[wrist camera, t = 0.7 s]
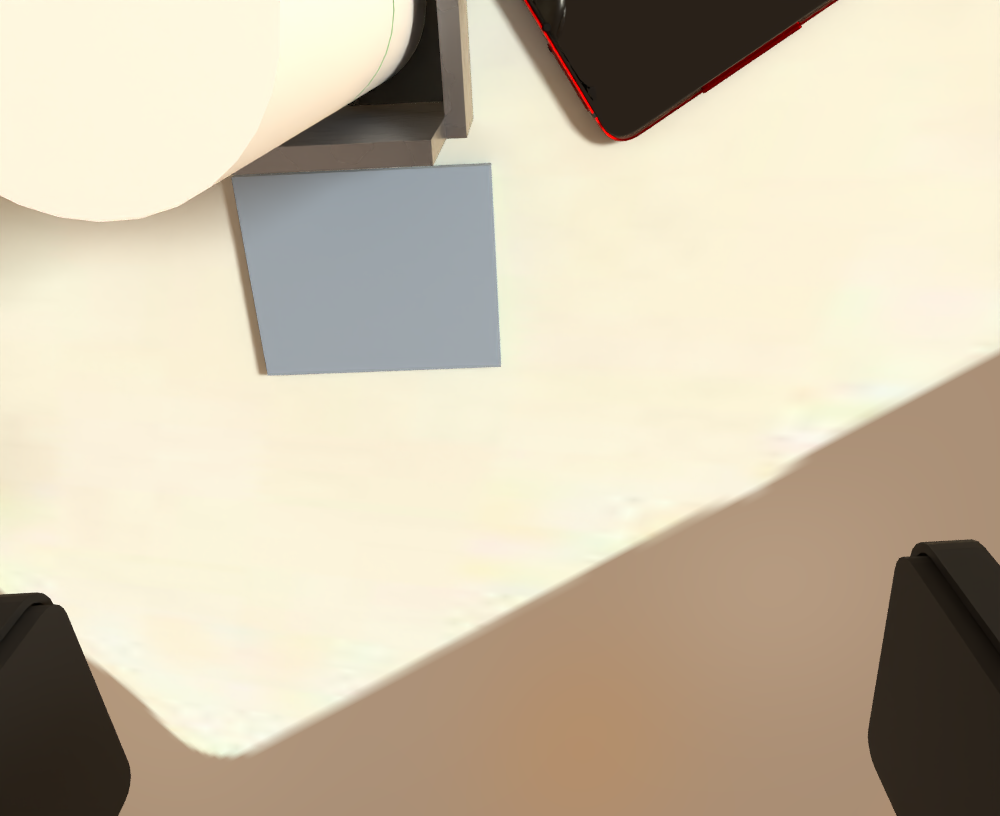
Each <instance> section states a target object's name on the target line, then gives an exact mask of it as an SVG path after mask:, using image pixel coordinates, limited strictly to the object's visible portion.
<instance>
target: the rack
mask: <svg viewBox="0 0 1000 816" xmlns="http://www.w3.org/2000/svg"><path fill="white" fill-rule="evenodd" d="M436 3H437V17H438V31H439V45H440V59H441V72H442V86H443V100H444V101H440V102H419V103H398V104H378V105H357V106H344V107H342V108H341V109H339V110H338V111H336V112H334V113H333V114H331V115H329V116H327V117H326V118H324V119H322V120H321V121H319V122H317V123H316V124H314V125H312V126H311V127H309V128H307V129H306V130H304V131H302V132H301V133H299V134H298V135H296V136H294V137H293V138H291V139H289V140H288V141H286V142H284V143H283V144H281V145H279V146H278V147H276V148H274V149H273V150H271V151H269V152H268V153H266V154H264V155H263V156H261V157H259V158H258V159H256V160H254V161H253V162H251V163H249V164H248V165H246V166H244V167H243V168H241V169H239V170H238V171H236V172H235V173H233V174H231V175H238V174H260V173H282V172H303V171H325V170H347V169H368V168H390V167H412V166H433V165H434V163H435V161H436V159H437V157H438V155H439V153H440V150H441V148H442V146H443V144H444V142H445V140H446V139H449V138H467V136H468V133H469V130H470V127H471V124H472V121H473V106H472V88H471V71H470V54H469V37H468V19H467V2H466V0H436Z"/></svg>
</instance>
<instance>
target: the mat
mask: <svg viewBox="0 0 1000 816" xmlns="http://www.w3.org/2000/svg"><path fill="white" fill-rule="evenodd" d="M231 178H232V183H233V189H234V194H235V200H236V205H237V211H238V216H239V221H240V227H241V232H242V238H243V243H244V249H245V254H246V259H247V265H248V270H249V276H250V281H251V287H252V292H253V298H254V303H255V308H256V314H257V319H258V325H259V330H260V336H261V341H262V346H263V352H264V357H265V363H266V368H267V374H268V375H294V374H321V373H347V372H373V371H399V370H425V369H452V368H478V367H501V353H500V334H499V314H498V294H497V274H496V254H495V234H494V214H493V194H492V175H491V163H484V164H462V165H440V166H419V167H397V168H375V169H353V170H332V171H310V172H288V173H267V174H245V175H234V176H233V177H231Z"/></svg>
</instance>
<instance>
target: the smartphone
mask: <svg viewBox="0 0 1000 816" xmlns="http://www.w3.org/2000/svg"><path fill="white" fill-rule="evenodd" d="M828 1H829V0H523V2H524V3H525V5H526V7H527V8H528V10H529V12H530V13H531V15H532V17H533V18H534V20H535V22H536V23H537V25H538V27H539V28H540V30H541V32H542V33H543V35H544V37H545V38H546V40H547V42H548V46H549V47H548V48H549V50H550V52H552V53H553V55H554V56H555V58H556V60H557V61H558V63H559V65H560V66H561V68H562V70H563V71H564V73H565V75H566V76H567V78H568V80H569V81H570V83H571V85H572V86H573V88H574V90H575V91H576V93H577V94H578V96H579V98H580V99H581V101H582V103H583V104H584V106H585V108H586V109H587V111H590V113H591V115H592V116H593V118H594V120H595V121H596V123H597V124H598V126H599V127H600V128H601V130H602V131H603V132H604V133H605V134H606V135H607V136H608V137H609V138H611V139H613V140H616V141H627V140H631V139H633V138H635V137H637V136H639V135H640V134H642V133H643V132H645V131H646V130H648V129H649V128H651V127H652V126H654V125H655V124H657V123H658V122H660V121H661V120H663V119H664V118H666V117H667V116H668V115H670V114H671V113H673V112H674V111H676V110H677V109H679V108H680V107H682V106H683V105H685V104H686V103H688V102H689V101H691V100H692V99H693V98H695V97H696V96H698V95H699V94H701V93H702V92H703V93H706V92H707V91H709V90H710V89H712V88H713V87H715V86H716V85H718V84H719V83H721V82H722V81H723V80H725V79H726V78H728V77H729V76H731V75H732V74H734V73H735V72H737V71H738V70H740V69H741V68H743V67H744V66H746V65H747V64H749V63H750V62H752V60H754V59H756V58H757V57H759V56H760V55H762V54H763V53H765V52H766V51H768V50H769V49H771V48H772V47H774V46H775V45H777V44H778V43H780V42H781V41H783V40H784V39H785V38H787V37H788V36H790V35H791V34H793V33H794V32H796V31H797V30H799V29H800V28H801V27H802V26H801V25H802V24H804V23H805V22H807V21H808V20H810V19H811V18H813V17H814V16H816V15H817V14H819V13H820V12H822V11H823V10H825V9H826V8H827V7H829V6H830V5H832V4H833V3H835V2H836V1H838V0H830V1H829V2H828ZM826 2H827V3H826ZM825 3H826V4H825ZM823 4H824V5H823ZM822 5H823V6H822ZM820 6H821V7H820ZM819 7H820V8H819ZM817 8H819V9H817ZM816 9H817V10H816ZM815 10H816V11H815ZM813 11H814V12H813ZM812 12H813V13H812ZM810 13H811V14H810ZM809 14H810V15H809ZM807 15H808V16H807ZM806 16H807V17H806ZM804 17H805V18H804ZM803 18H804V19H803ZM801 19H802V20H801ZM800 20H801V21H800ZM700 88H701V89H700ZM698 89H699V90H698ZM697 90H698V91H697ZM695 91H696V92H695ZM694 92H695V93H694ZM692 93H693V94H692ZM691 94H692V95H691ZM688 96H689V97H688ZM685 98H686V99H685ZM682 100H683V101H682ZM681 101H682V102H681ZM679 102H680V103H679ZM678 103H679V104H678ZM676 104H677V105H676ZM675 105H676V106H675ZM673 106H674V107H673ZM672 107H673V108H672ZM670 108H671V109H670ZM669 109H670V110H669ZM667 110H668V111H667ZM666 111H667V112H666ZM663 113H664V114H663ZM660 115H661V116H660ZM657 117H658V118H657ZM654 119H655V120H654ZM651 121H652V122H651ZM650 122H651V123H650ZM648 123H649V124H648ZM647 124H648V125H647ZM645 125H646V126H645ZM644 126H645V127H644ZM642 127H643V128H642ZM641 128H642V129H641ZM639 129H640V130H639ZM638 130H639V131H638ZM636 131H637V132H636ZM634 132H635V133H634ZM630 134H631V135H630ZM628 135H629V136H628ZM624 136H625V137H624Z"/></svg>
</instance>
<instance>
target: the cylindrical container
mask: <svg viewBox="0 0 1000 816" xmlns="http://www.w3.org/2000/svg"><path fill="white" fill-rule="evenodd" d="M425 13H426V0H0V196H2V197H4V198H6V199H8V200H10V201H12V202H14V203H16V204H18V205H21V206H24V207H27V208H31V209H34V210H37V211H40V212H44V213H47V214H50V215H53V216H57V217H61V218H70V219H78V220H87V221H95V222H107V221H118V220H130V219H141V218H144V217H147V216H150V215H153V214H156V213H159V212H163V211H166V210H169V209H172V208H175V207H178V206H180V205H181V204H183V203H185V202H186V201H188V200H190V199H191V198H193V197H195V196H196V195H198V194H200V193H201V192H203V191H205V190H206V189H208V188H210V187H211V186H213V185H215V184H216V183H218V182H220V181H221V180H223V179H225V178H226V177H228V176H230V175H231V174H233V173H235V172H236V171H238V170H239V169H241V168H243V167H244V166H246V165H248V164H249V163H251V162H253V161H254V160H256V159H258V158H259V157H261V156H263V155H264V154H266V153H268V152H269V151H271V150H273V149H274V148H276V147H278V146H279V145H281V144H283V143H284V142H286V141H288V140H289V139H291V138H293V137H294V136H296V135H298V134H299V133H301V132H302V131H304V130H306V129H307V128H309V127H311V126H312V125H314V124H316V123H317V122H319V121H321V120H322V119H324V118H326V117H327V116H329V115H331V114H333V113H334V112H336V111H338V110H339V109H341V108H342V107H344V106H346V105H347V104H349V103H351V102H352V101H354V100H356V99H357V98H359V97H360V96H362V95H364V94H365V93H367V92H369V91H370V90H372V89H373V88H375V87H377V86H378V85H380V84H382V83H383V82H385V81H386V80H388V79H390V78H391V77H393V76H394V75H395V74H396V73H397V72H399V71H400V70H401V69H402V68H403V67H404V66H405V65H406V63H407V62H408V61H409V59H410V58H411V56H412V55H413V54H414V52H415V50H416V47H417V45H418V43H419V41H420V39H421V35H422V31H423V27H424V24H425Z"/></svg>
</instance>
